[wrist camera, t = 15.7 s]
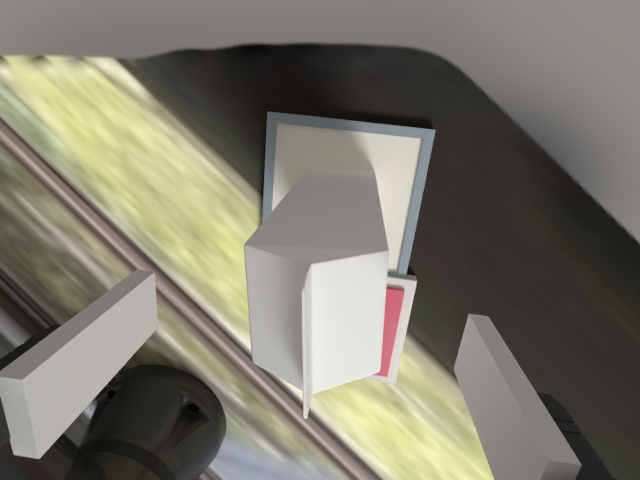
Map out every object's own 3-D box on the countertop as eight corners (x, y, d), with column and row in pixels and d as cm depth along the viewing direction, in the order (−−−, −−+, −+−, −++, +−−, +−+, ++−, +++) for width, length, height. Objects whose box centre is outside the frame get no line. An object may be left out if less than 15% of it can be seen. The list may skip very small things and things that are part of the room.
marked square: (262, 259, 37) (260, 262, 36) (269, 111, 32) (267, 111, 31) (403, 279, 36) (404, 282, 35) (433, 129, 31) (435, 130, 30)
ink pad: (284, 358, 41) (281, 368, 39) (292, 259, 37) (289, 265, 35) (394, 375, 40) (395, 386, 38) (415, 275, 36) (417, 283, 34)
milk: (374, 169, 32) (401, 284, 12) (371, 235, 34) (389, 431, 14) (305, 168, 33) (214, 275, 12) (306, 233, 35) (229, 418, 14)
